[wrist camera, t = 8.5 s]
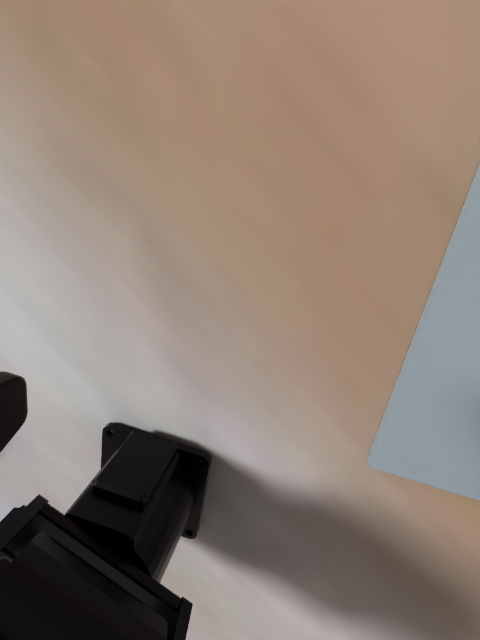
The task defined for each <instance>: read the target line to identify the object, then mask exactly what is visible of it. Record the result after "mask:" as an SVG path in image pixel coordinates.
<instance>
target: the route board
mask: <svg viewBox="0 0 480 640" xmlns="http://www.w3.org/2000/svg"><path fill="white" fill-rule="evenodd" d="M368 464H369V467H371V468H374V469H377V470H380V471H384V472H387V473H390V474H393V475H397V476H400V477H403V478H407V479H410V480H413V481H416V482H420V483H423V484H426V485H430V486H433V487H436V488H439V489H443V490H446V491H449V492H453V493H456V494H459V495H462V496H466V497H469V498H472V499H475V500H479V501H480V164H479V166H478V169H477V172H476V174H475V177H474V179H473V182H472V185H471V187H470V190H469V193H468V195H467V198H466V200H465V203H464V206H463V208H462V211H461V214H460V216H459V219H458V221H457V224H456V227H455V229H454V232H453V235H452V237H451V240H450V242H449V245H448V248H447V250H446V253H445V256H444V258H443V261H442V263H441V266H440V269H439V271H438V274H437V276H436V279H435V282H434V284H433V287H432V290H431V292H430V295H429V297H428V300H427V303H426V305H425V308H424V311H423V313H422V316H421V318H420V321H419V324H418V326H417V329H416V332H415V334H414V337H413V339H412V342H411V345H410V347H409V350H408V353H407V355H406V358H405V360H404V363H403V366H402V368H401V371H400V374H399V376H398V379H397V381H396V384H395V387H394V389H393V392H392V395H391V397H390V400H389V402H388V405H387V408H386V410H385V413H384V416H383V418H382V421H381V423H380V426H379V429H378V431H377V434H376V437H375V439H374V442H373V444H372V447H371V450H370V452H369V455H368Z"/></svg>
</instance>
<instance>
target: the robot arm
mask: <svg viewBox="0 0 480 640" xmlns="http://www.w3.org/2000/svg"><path fill="white" fill-rule="evenodd" d="M27 411H28V409H27V387H26V381H25V379H24V378H23V377H21V376H18V375H15V374H12V373H9V372H0V452H1V451H2V450H3V448H4V447H5V446H6V445H7V443H8V442H9V441H10V440H11V439H12V437H13V436H14V435H15V434H16V432H17V431H18V430H19V429H20V427H21V426H22V425H23V423H24V421H25V419H26V417H27ZM111 431H113V433H112V432H111ZM199 459H200V460H203V461H204V462H201V461H200V460H199ZM210 466H211V457H210V455H209V454H208V453H206V452H204V451H201V450H198V449H195V448H191V447H188V446H185V445H182V444H179V443H176V442H173V441H170V440H166V439H163V438H160V437H157V436H154V435H151V434H148V433H144V432H141V431H138V430H135V429H132V428H129V427H126V426H123V425H119V424H116V423H112V422H111V423H109V424H107V425H106V427H105V428H104V429H103V433H102V457H101V470H100V471H99V472H98V474H97V475H96V476H95V477H94V479H93V480H92V481H91V482H90V484H89V485H88V486H87V487H86V489H85V490H84V491H83V492H82V493H81V495H80V496H79V497H78V498H77V500H76V501H75V502H74V503H73V505H72V506H71V507H70V508H69V510H68V511H67V512H66V513H65V515H64V514H62V513H61V512H59V511H58V510H57V509H55V508H54V507H52V506H51V505H50V504H48V502H49V501H48V500H46V499H45V498H44V497H42V496H41V495H38V496H37V497H36V498H35V499H34V500H33V501H32V502H31V503H29V504H28V505H27V506H25V505H23V506H21V507H20V508H13V509H12V510H11V511H10V512H9V514H8V515H7V516H6V517H5V518H4V519H3V520H2V521H1V522H0V640H185V639H186V634H187V629H188V624H189V619H190V615H191V610H192V603H191V602H189V601H188V600H187V599H185V598H184V597H182V598H180V597H178V596H177V595H176V594H174V593H173V592H171V591H170V590H169V589H167V588H166V587H164V586H163V585H162V584H160V581H161V579H162V577H163V575H164V572H165V570H166V568H167V566H168V563H169V561H170V559H171V557H172V555H173V552H174V550H175V548H176V546H177V543H178V541H179V539H180V537H181V536H183V537H186V538H189V539H194V538H195V537H196V536H197V533H198V531H199V526H200V521H201V516H202V510H203V505H204V499H205V494H206V488H207V483H208V477H209V472H210Z"/></svg>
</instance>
